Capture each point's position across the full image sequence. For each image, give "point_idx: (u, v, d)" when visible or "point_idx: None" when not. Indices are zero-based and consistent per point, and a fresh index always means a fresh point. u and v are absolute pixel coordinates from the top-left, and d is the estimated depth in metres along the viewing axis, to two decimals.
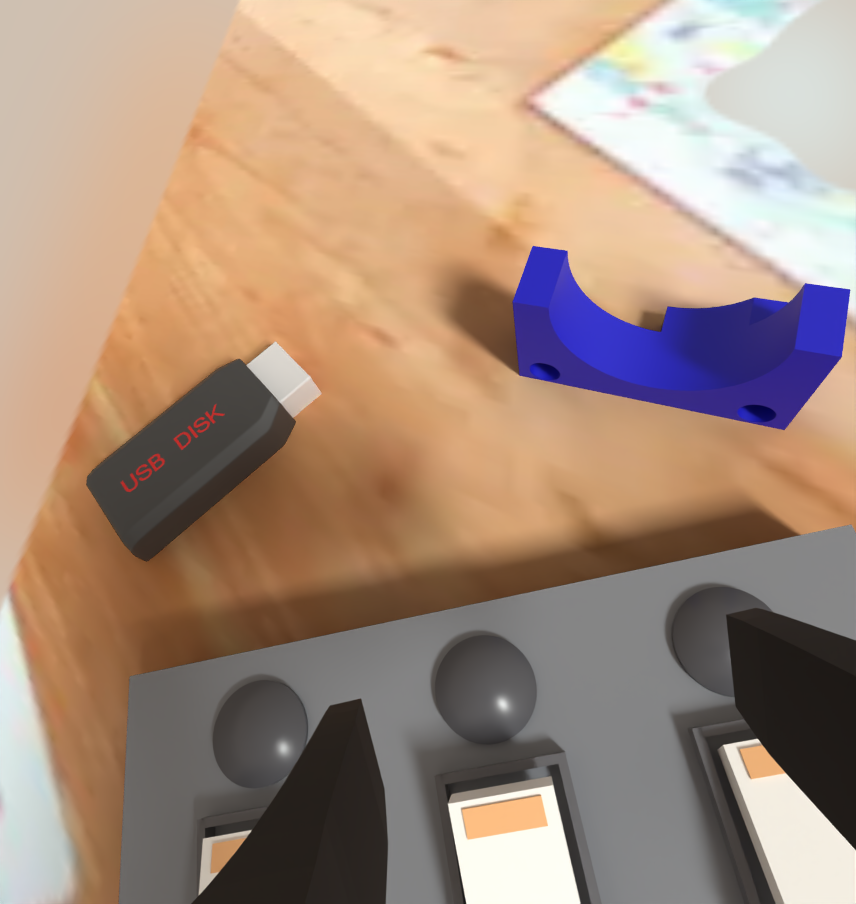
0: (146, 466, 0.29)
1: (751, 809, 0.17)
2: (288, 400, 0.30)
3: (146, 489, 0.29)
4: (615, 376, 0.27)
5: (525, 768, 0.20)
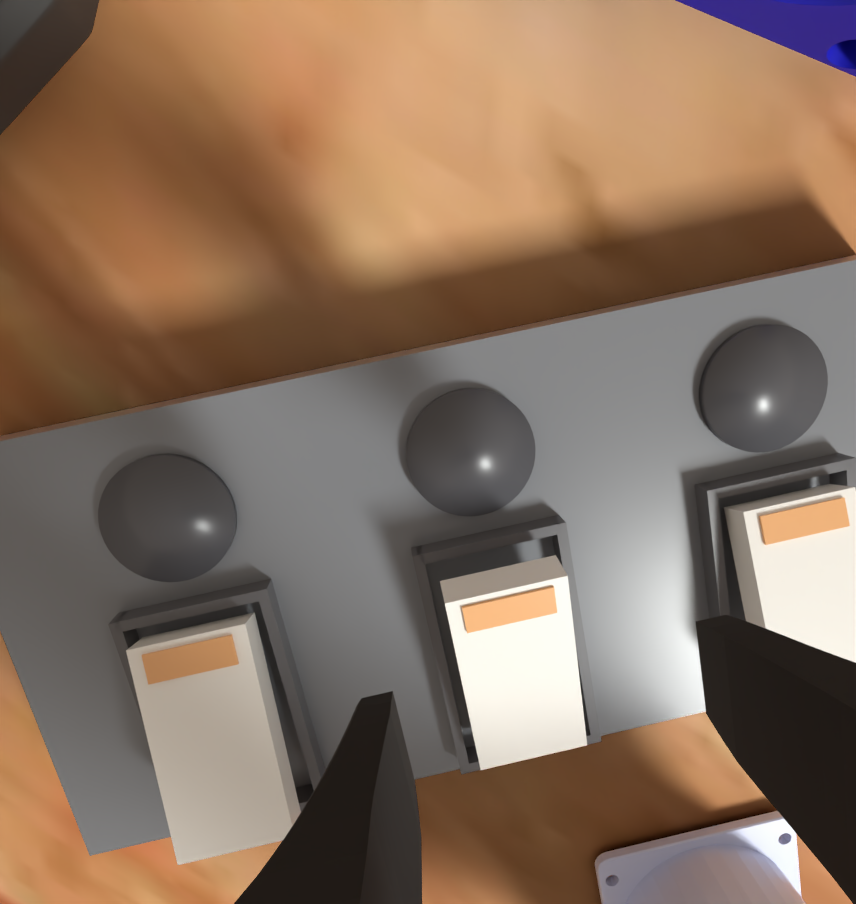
0: None
1: (757, 572, 0.17)
2: None
3: None
4: None
5: (519, 541, 0.17)
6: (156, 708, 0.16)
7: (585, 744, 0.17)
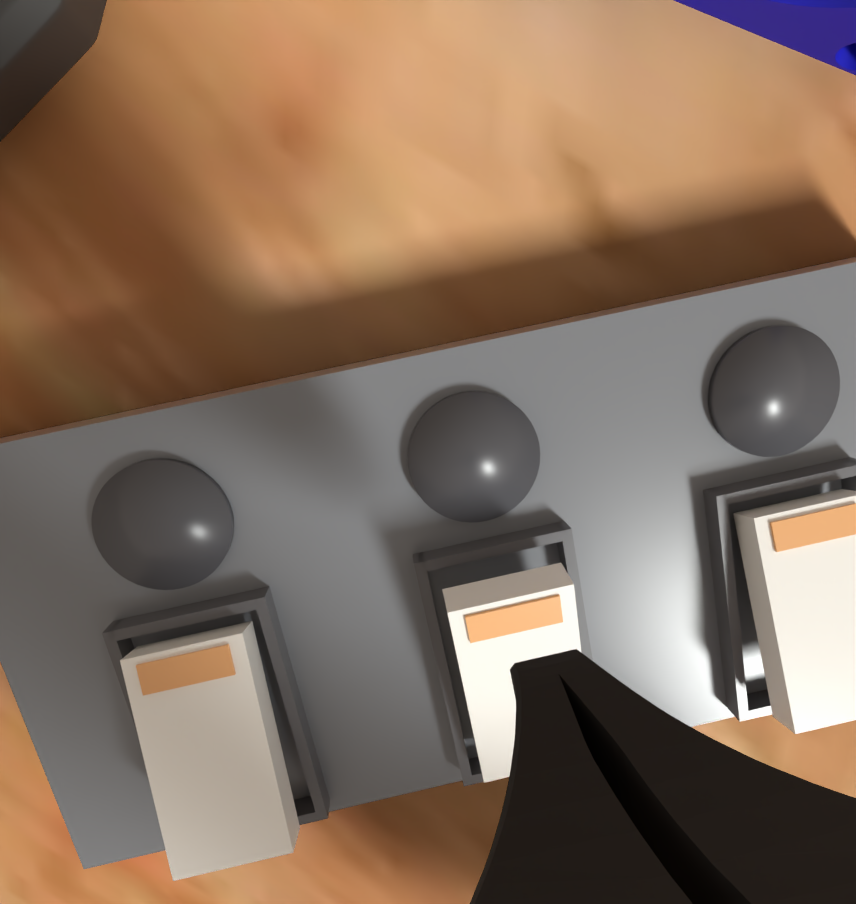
0: None
1: (768, 579, 0.16)
2: None
3: None
4: None
5: (524, 548, 0.16)
6: (151, 720, 0.16)
7: None
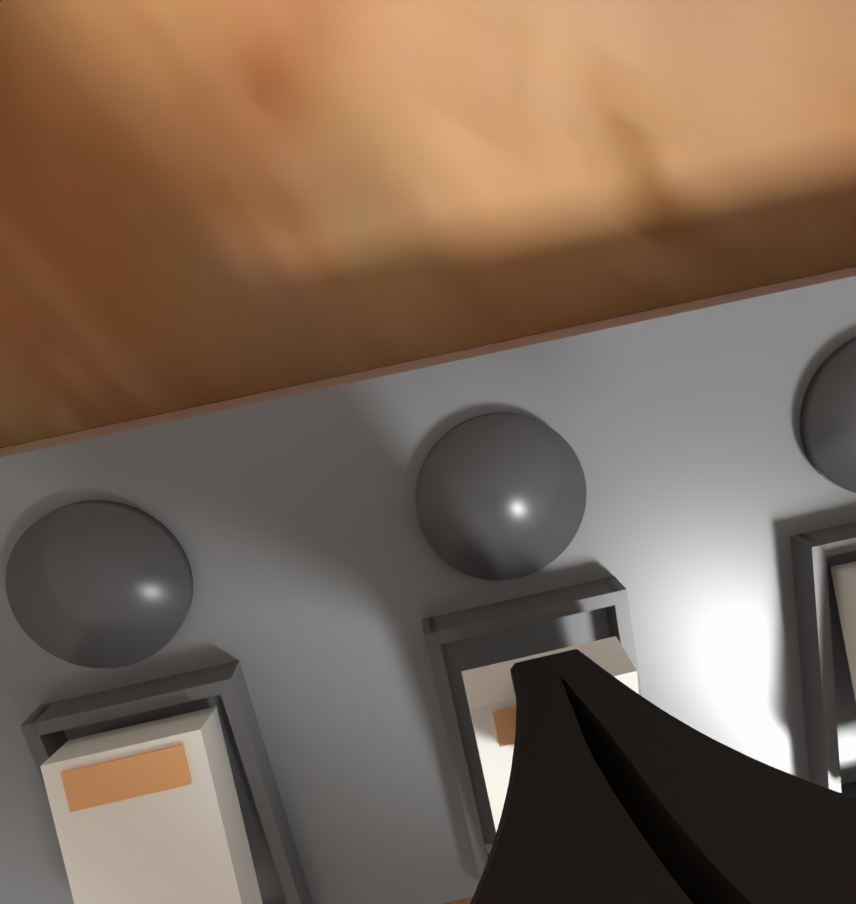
0: None
1: None
2: None
3: None
4: None
5: (565, 614, 0.13)
6: (81, 842, 0.12)
7: None
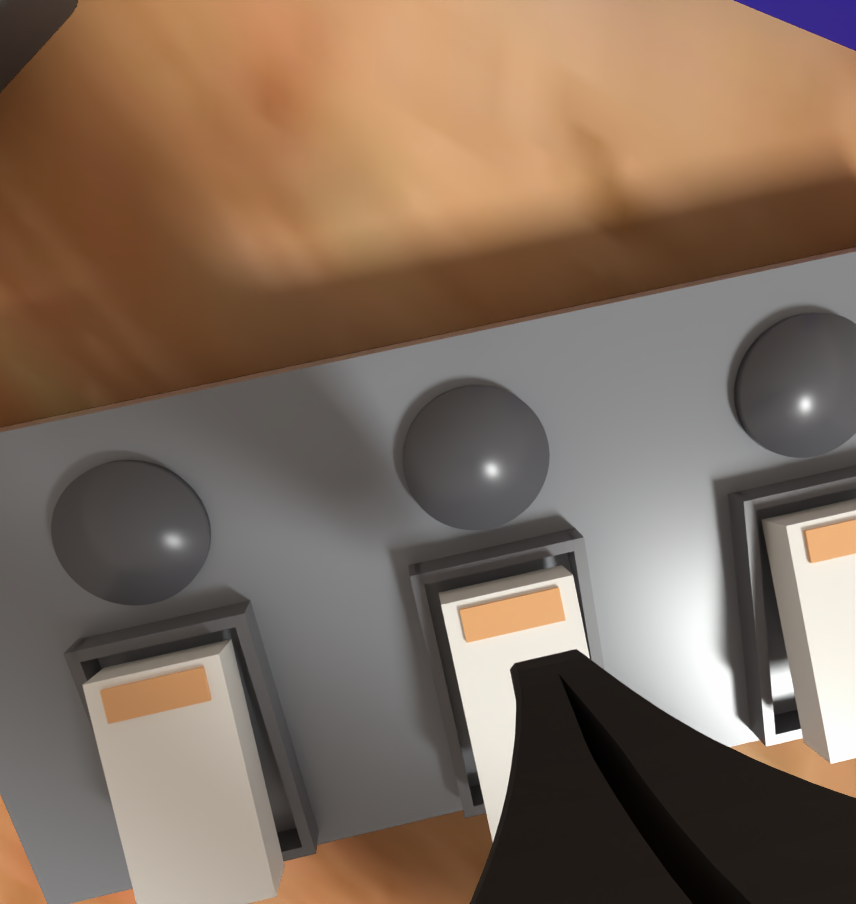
0: None
1: (802, 593, 0.15)
2: None
3: None
4: None
5: (531, 559, 0.15)
6: (117, 750, 0.14)
7: None
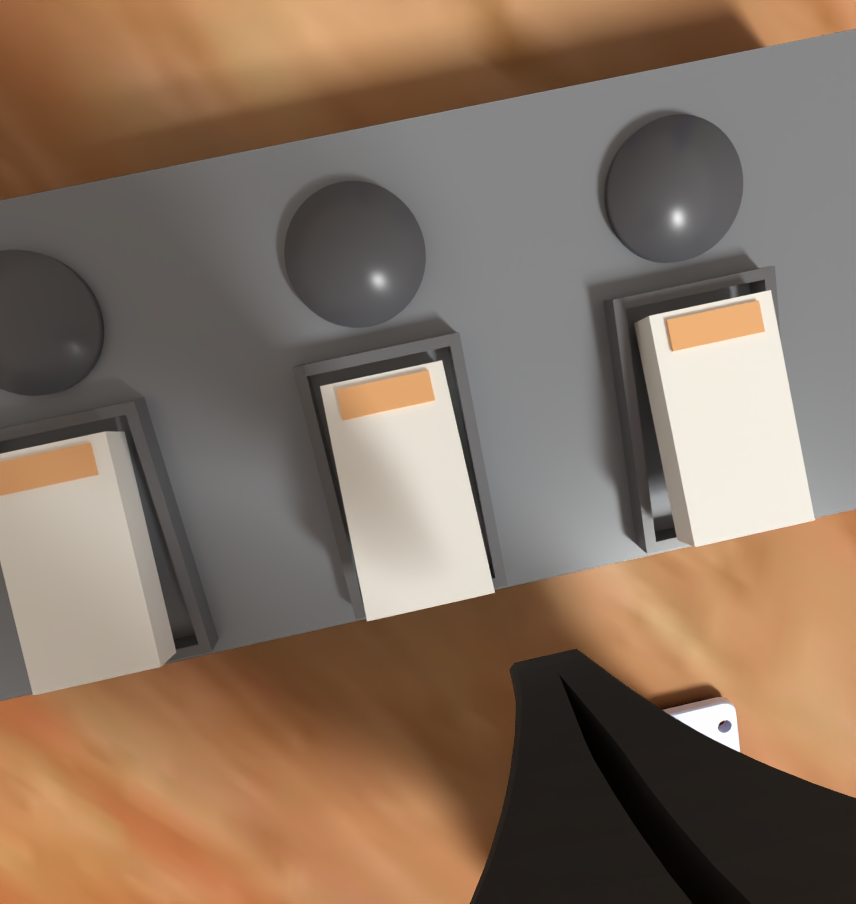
0: None
1: (665, 382, 0.15)
2: None
3: None
4: None
5: (409, 353, 0.16)
6: (8, 523, 0.15)
7: (492, 590, 0.15)
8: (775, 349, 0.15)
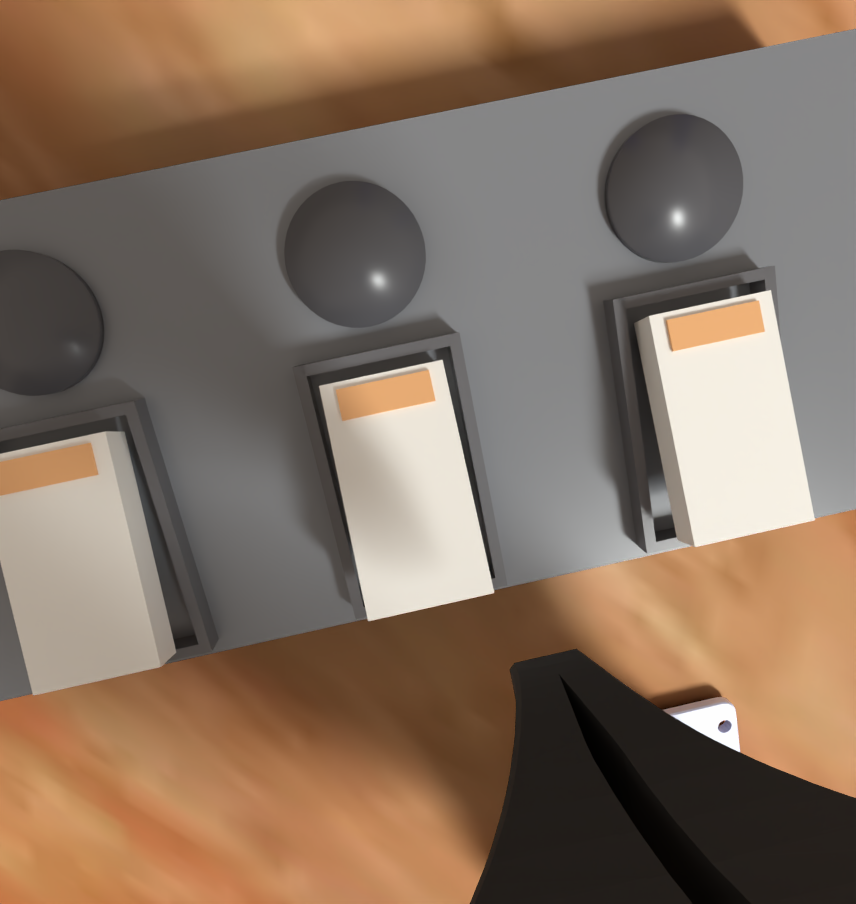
0: None
1: (665, 382, 0.15)
2: None
3: None
4: None
5: (409, 353, 0.16)
6: (8, 523, 0.15)
7: (491, 590, 0.15)
8: (775, 349, 0.15)
